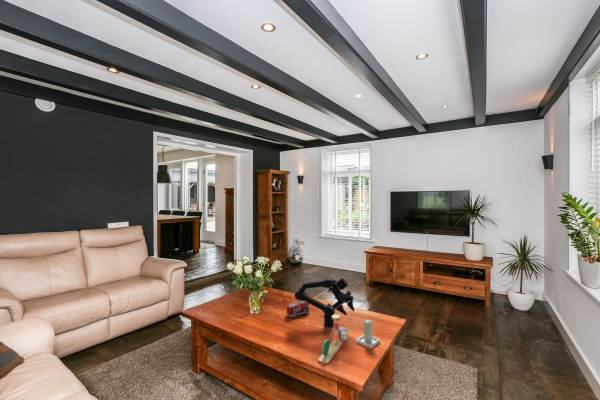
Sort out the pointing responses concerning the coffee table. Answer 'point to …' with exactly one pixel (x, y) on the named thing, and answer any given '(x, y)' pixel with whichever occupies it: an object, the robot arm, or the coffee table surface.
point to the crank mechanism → (331, 349)
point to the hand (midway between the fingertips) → (350, 313)
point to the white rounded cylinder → (344, 336)
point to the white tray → (369, 345)
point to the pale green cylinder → (367, 331)
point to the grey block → (341, 330)
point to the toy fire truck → (297, 309)
